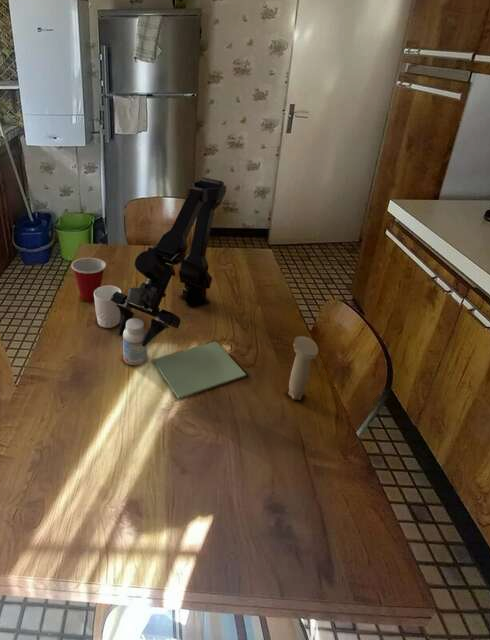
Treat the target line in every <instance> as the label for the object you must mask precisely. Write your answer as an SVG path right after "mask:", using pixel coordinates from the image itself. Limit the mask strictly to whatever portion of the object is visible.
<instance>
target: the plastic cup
mask: <svg viewBox="0 0 490 640" xmlns="http://www.w3.org/2000/svg"><path fill="white" fill-rule="evenodd" d="M70 266H71V269H72V271H73V273H74V277H75V281H76V284H77V288H78V292H79V296H80V298H81V300H83V301H85V302H93V301H94V302H95V300H94V291H95V290H96V289H97V288H99V287H101V286H102V282H103V275H104V272H105V269H106V267H107V263H106V261H104V260H103V259H100V258H95V257H82V258H78V259H75V260H74V261H73V262H71V264H70Z"/></svg>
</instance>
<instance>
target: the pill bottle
mask: <svg viewBox="0 0 490 640" xmlns="http://www.w3.org/2000/svg"><path fill="white" fill-rule="evenodd" d="M147 332H148V331H147V330H146V328H145V322H144V321H143V319H141V318H137V317H132V319H129V320H128V321H127V322H126V329H125V330H124V332H123V335H122V358H123V361H124V362H125V363H126V364H128V365H131V366H138V365H141V364H144V363H145V362H146V360H147V353H148V351H147V348H148V347H147V346H148V344H147V345H146V346H145V347H144V346H142V344H143V341H144V339H145V337H146V335H147Z"/></svg>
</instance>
